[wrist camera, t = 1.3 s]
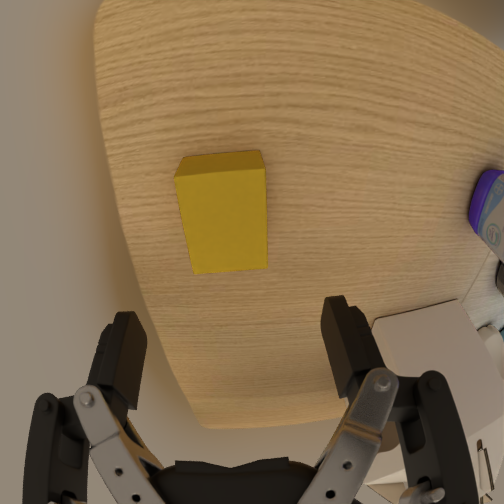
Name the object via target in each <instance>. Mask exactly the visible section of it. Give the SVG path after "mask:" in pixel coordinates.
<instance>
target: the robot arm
mask: <svg viewBox="0 0 504 504" xmlns="http://www.w3.org/2000/svg"><path fill="white" fill-rule="evenodd" d="M321 333H322V336H323V340H324V343H325V347H326V351H327V354H328V358H329V361H330V365H331V369H332V372H333V376H334V380H335V384H336V387H337V391H338V395H339V399H340V398H345V397H347V399H348V402H349V405H348V407H347V409H346V411H345V413H344V415H343V417H342V419H341V421H340V423H339V425H338V427H337V429H336V431H335V432H334V434H333V436H332V438H331V440H330V442H329V443H328V445H327V447H326V448H325V450H324V451H323V453H322V454H321V456H320V458H319V459H318V461H317V463H316V464H315V466H314V467H311V466H309V465H306V464H304V463H301V462H295V461H289V459H288V457H281V458H273V459H262V460H257V461H255V462H251V463H247V464H244V465H241V466H237V467H233V468H228V467H223V466H219V465H214V464H210V463H206V462H200V461H199V462H198V461H175V465H173V466H170V467H166V468H164V467H163V466H162V464H161V463H160V462H159V460H158V459H157V458H156V457H155V456H154V455H153V454H152V453H151V452H150V451H149V450H148V448H147V447H146V445H145V444H144V442H143V441H142V439H141V437H140V436H139V434H138V433H137V431H136V429H135V428H134V426H133V425H132V423H131V421H130V420H129V418H128V417H127V413H128V409H131V410H137V402H138V396H139V390H140V383H141V377H142V371H143V365H144V359H145V354H146V349H147V336H146V333H145V331H144V329H143V327H142V325H141V323H140V321H139V319H138V317H137V315H136V313H135V312H134V311H127V312H117V313H116V315H115V318H114V322H113V324H108V325H107V326H106V328H105V329H104V330H103V332H102V333H101V336H100V339H99V342H98V344H99V345H98V346H97V349H96V353H95V356H94V359H93V362H92V366H91V370H90V373H89V377H88V381H87V384H86V385H85V386H82V387H81V388H79V389H78V390H77V392H76V393H75V395H73V396H69V397H64V398H59V399H58V398H57V397H55V396H54V395H53V394H51V393H44V394H42V395H41V396H39V398H38V399H37V400H36V403H35V406H34V411H33V415H32V421H31V426H30V431H29V437H28V444H27V450H26V458H25V467H24V480H23V499H22V500H23V501H22V502H23V503H22V504H87V478H88V477H87V476H88V459H89V454H90V456H91V459H92V461H93V462H94V464H95V466H96V468H97V470H98V472H99V474H100V475H101V477H102V479H103V481H104V482H105V484H106V486H107V488H108V489H109V491H110V493H111V494H112V496H113V497H114V499H115V501H116V502H117V504H362V503H361V502H359V501H358V500H356V499H355V498H354V497H355V495H356V494H357V492H358V490H359V488H360V487H361V485H362V483H363V481H364V479H365V477H366V475H367V473H368V471H369V469H370V467H371V465H372V463H373V461H374V459H375V457H376V454H377V452H378V450H379V448H380V445H381V443H382V438H383V437H382V432H383V429H384V427H385V424H386V422H395V425H396V429H397V433H398V438H399V442H400V447H401V451H402V456H403V461H404V466H405V472H406V477H407V483H408V489H406V490H405V491H404V492H403V493H402V495H401V496H400V499H399V503H398V504H479V496H478V490H477V484H476V479H475V474H474V469H473V465H472V460H471V456H470V452H469V448H468V444H467V441H466V437H465V433H464V430H463V427H462V423H461V420H460V417H459V414H458V411H457V408H456V405H455V402H454V399H453V396H452V393H451V390H450V388H449V385H448V382H447V380H446V378H445V377H444V375H443V374H441V373H440V372H438V371H435V370H429V371H426V372H424V373H423V374H422V375H421V376H420V377H404V376H398V375H396V374H395V373H394V372H393V371H391V370H389V369H388V368H387V367H386V365H385V363H384V361H383V358H382V356H381V353H380V351H379V348H378V346H377V343H376V341H375V338H374V336H373V335H372V331H371V329H370V326H369V324H368V322H367V319H366V317H365V315H364V313H363V312H362V311H361V310H360V309H359V308H358V307H357V306H351V307H349V306H348V304H347V301H346V299H345V297H344V296H343V295H339V296H331V297H326V298H325V300H324V305H323V311H322V316H321ZM90 444H91V448H89V447H90Z"/></svg>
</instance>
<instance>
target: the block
mask: <svg viewBox="0 0 504 504" xmlns="http://www.w3.org/2000/svg"><path fill="white" fill-rule="evenodd" d="M174 182H175V188H176V193H177V199H178V204H179V209H180V214H181V219H182V224H183V229H184V233H185V238H186V243H187V247H188V252H189V256H190V260H191V265H192V269H193V273H194V274H202V273H216V272H229V271H242V270H254V269H266V268H268V241H267V196H266V169H265V165H264V162H263V159H262V156H261V153H260V151H259V150H257V151H242V152H229V153H218V154H208V155H199V156H190V157H183V159H182V161H181V163H180V165H179V167H178V169H177V171H176V173H175V176H174Z"/></svg>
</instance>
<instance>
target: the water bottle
mask: <svg viewBox="0 0 504 504" xmlns="http://www.w3.org/2000/svg"><path fill="white" fill-rule="evenodd" d="M477 332H478V333H479V335H480V337H481V339H482V340H483V342H484V344H485V346H486V348H487V350H488V352H489V353H490V355H491V357H492V359H493V361H494V363H495V365H496V367H497V369H498V371H499V373H500V375H501V377H502V380H503V382H504V342H503V338H502V336H501V334H500V332H499V331H498V330H497V329H496V328H495V327H494V326H492V325H488V326H487V327H482V328H481V329H479V330H478V331H477Z"/></svg>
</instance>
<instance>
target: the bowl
mask: <svg viewBox="0 0 504 504" xmlns="http://www.w3.org/2000/svg"><path fill="white" fill-rule="evenodd" d="M497 288H498V290H499V292H500V293H501V294H502V296H503V297H504V263H503V262H501V264H500V268H499V272H498V275H497Z"/></svg>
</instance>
